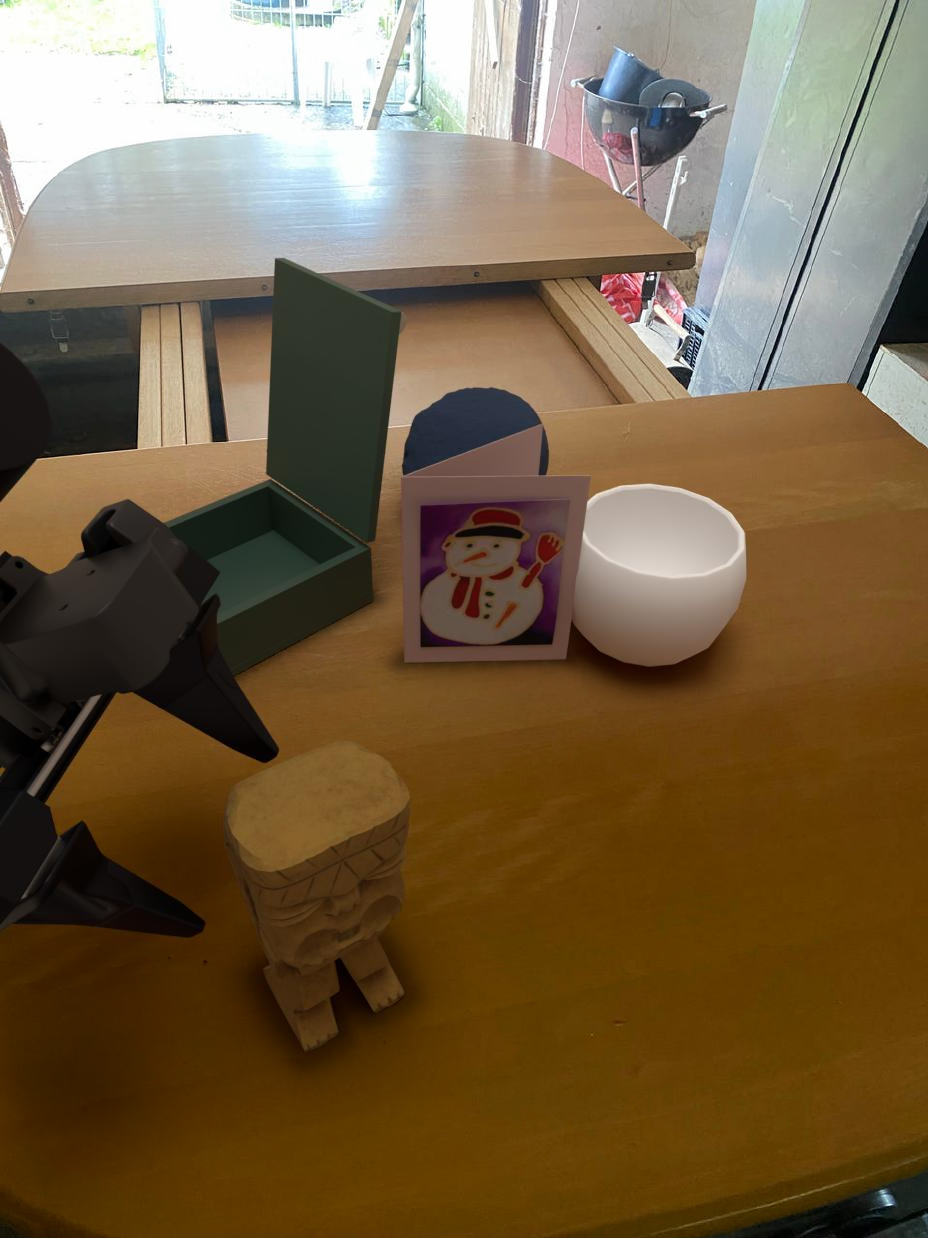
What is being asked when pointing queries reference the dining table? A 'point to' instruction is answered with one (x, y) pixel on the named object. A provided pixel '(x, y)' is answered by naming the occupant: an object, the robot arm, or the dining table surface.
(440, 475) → the greeting card
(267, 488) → the green open box
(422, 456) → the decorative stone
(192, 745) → the dining table surface
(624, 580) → the cup
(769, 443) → the dining table surface
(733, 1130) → the dining table surface
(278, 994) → the figurine
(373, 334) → the box lid
